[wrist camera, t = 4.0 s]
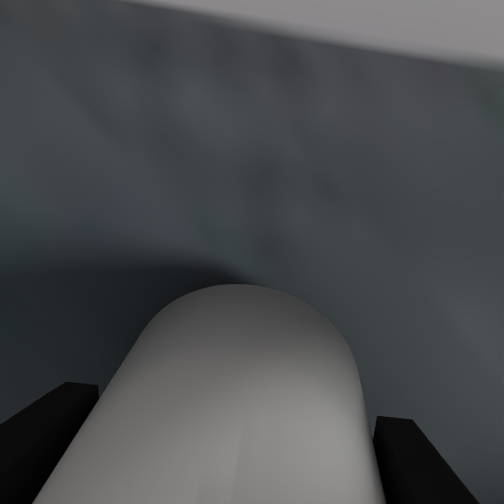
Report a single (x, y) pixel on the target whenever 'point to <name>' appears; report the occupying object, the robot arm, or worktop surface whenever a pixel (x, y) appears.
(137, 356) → the grey rounded piece
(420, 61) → the worktop surface
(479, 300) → the worktop surface
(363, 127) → the worktop surface
